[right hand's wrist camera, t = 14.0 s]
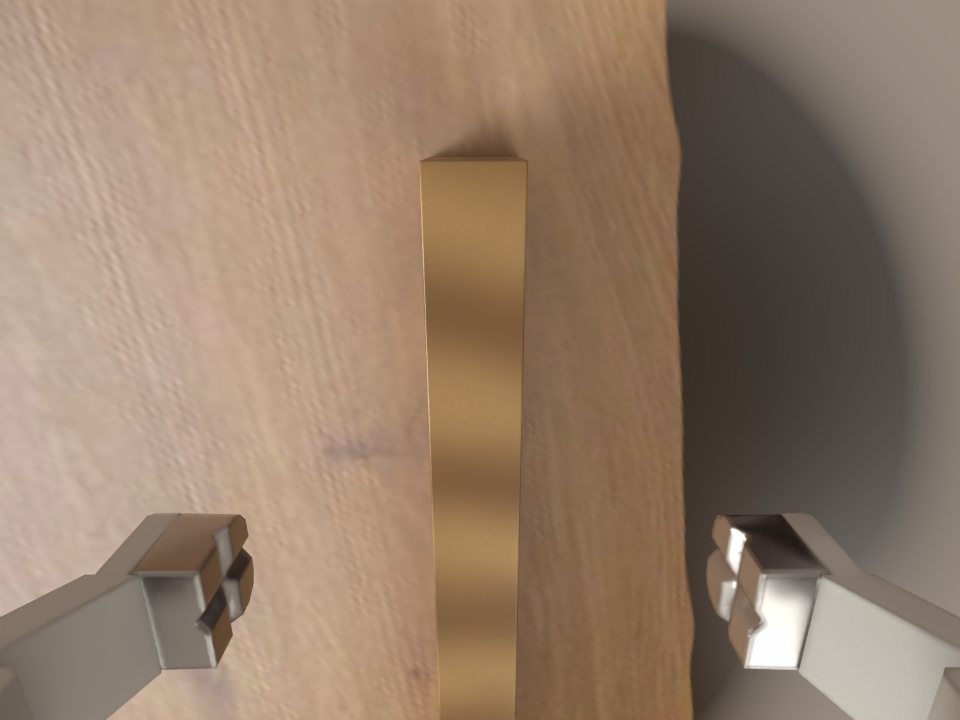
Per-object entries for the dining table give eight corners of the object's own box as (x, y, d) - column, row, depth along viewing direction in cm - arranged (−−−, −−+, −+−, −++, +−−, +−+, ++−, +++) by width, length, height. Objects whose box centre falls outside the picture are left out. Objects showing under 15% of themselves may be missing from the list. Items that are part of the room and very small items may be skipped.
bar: (429, 156, 32) (418, 160, 26) (519, 156, 32) (528, 160, 26) (453, 943, 56) (451, 1033, 51) (505, 943, 56) (508, 1033, 51)
